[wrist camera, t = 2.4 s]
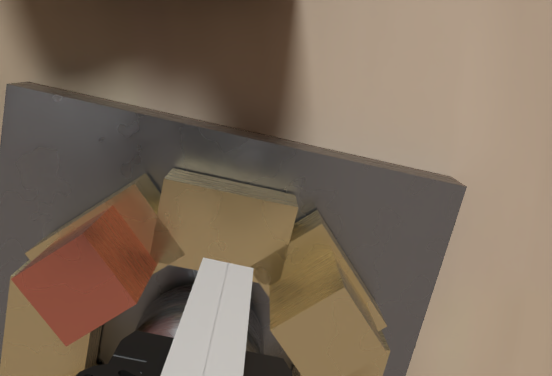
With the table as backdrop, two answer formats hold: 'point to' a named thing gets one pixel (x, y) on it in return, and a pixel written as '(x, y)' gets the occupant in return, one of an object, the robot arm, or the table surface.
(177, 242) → the octagonal wooden frame
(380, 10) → the table surface
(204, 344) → the robot arm
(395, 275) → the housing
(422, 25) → the table surface
